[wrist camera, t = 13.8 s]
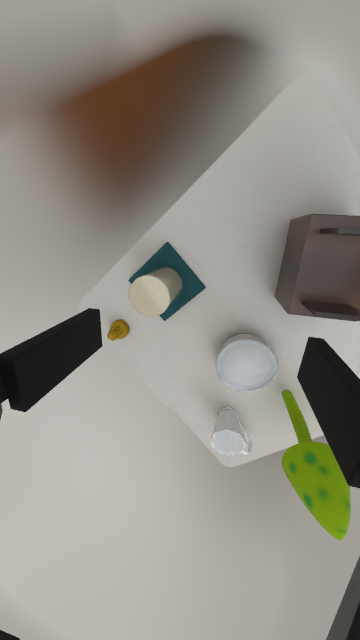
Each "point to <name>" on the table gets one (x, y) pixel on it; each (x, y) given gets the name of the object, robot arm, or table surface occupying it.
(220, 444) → the cup
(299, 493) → the mushroom
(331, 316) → the holder
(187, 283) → the mat
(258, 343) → the ramekin
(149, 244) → the table surface
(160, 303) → the cream cylinder
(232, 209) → the table surface
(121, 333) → the chess piece
